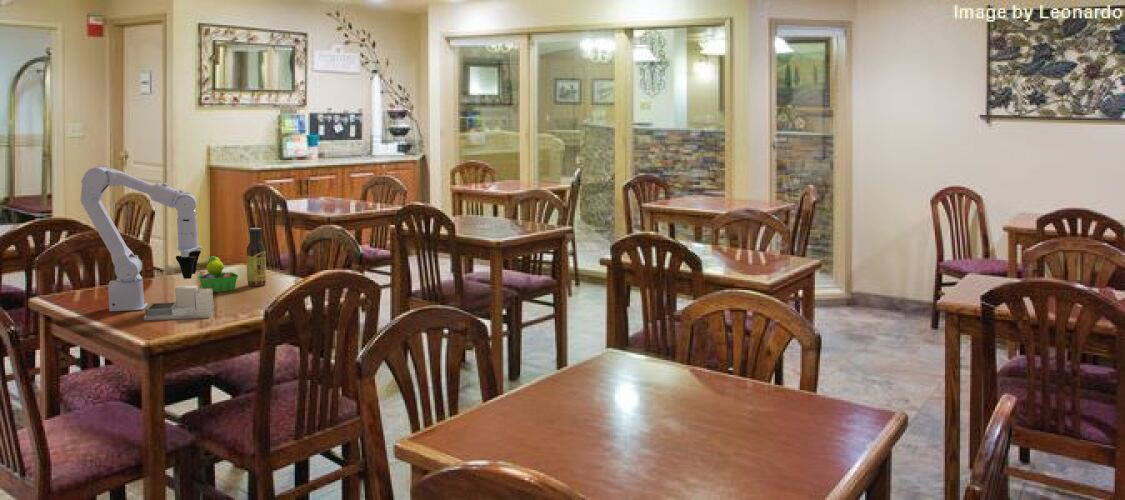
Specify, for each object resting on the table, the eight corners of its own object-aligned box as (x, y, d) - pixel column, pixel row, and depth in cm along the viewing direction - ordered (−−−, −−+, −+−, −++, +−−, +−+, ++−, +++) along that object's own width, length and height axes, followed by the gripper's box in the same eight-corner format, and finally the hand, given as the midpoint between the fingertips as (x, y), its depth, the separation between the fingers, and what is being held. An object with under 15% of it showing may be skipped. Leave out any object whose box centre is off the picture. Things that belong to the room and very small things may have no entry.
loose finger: (196, 306, 282) (195, 288, 281) (176, 307, 281) (175, 288, 280) (199, 303, 287) (198, 285, 286) (178, 304, 285) (177, 285, 284)
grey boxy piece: (144, 320, 264) (142, 296, 263) (151, 312, 274) (149, 289, 273) (209, 317, 268) (208, 294, 267) (214, 310, 278) (213, 287, 277)
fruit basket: (204, 294, 300) (202, 260, 298) (197, 289, 307) (195, 256, 305) (239, 290, 307) (237, 257, 305) (231, 286, 314) (230, 253, 312)
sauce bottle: (260, 287, 312) (258, 230, 309) (243, 286, 313) (241, 229, 310) (270, 283, 318) (268, 227, 315) (253, 282, 319) (251, 226, 316)
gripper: (197, 236, 274) (199, 280, 276) (205, 229, 288) (206, 271, 290) (172, 236, 272) (174, 280, 275) (181, 229, 286) (183, 272, 289)
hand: (189, 276), depth 282 cm, fingers open, 7 cm apart
